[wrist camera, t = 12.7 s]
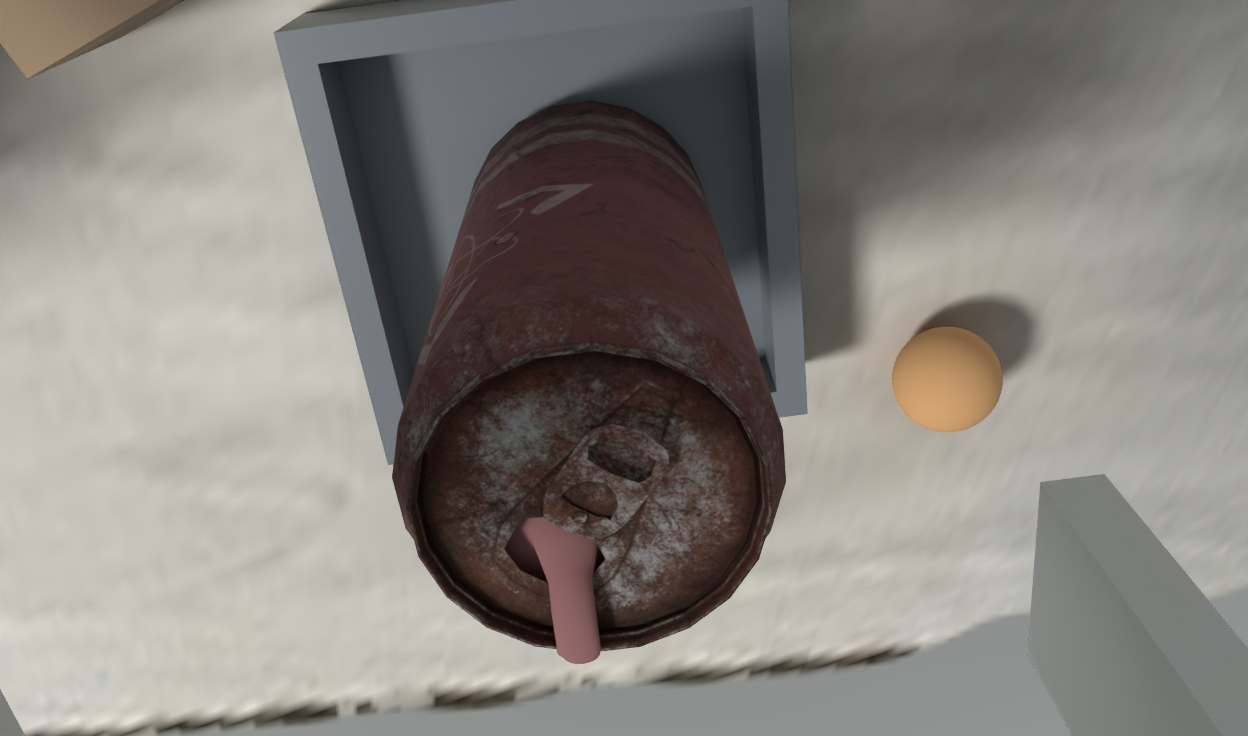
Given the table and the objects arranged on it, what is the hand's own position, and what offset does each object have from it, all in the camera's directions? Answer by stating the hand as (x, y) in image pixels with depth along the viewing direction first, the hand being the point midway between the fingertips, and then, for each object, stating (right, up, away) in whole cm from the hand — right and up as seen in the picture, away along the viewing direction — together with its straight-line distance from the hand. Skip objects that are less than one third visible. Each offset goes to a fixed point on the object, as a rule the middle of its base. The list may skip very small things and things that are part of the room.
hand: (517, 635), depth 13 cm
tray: (0, +8, +16) cm, 17 cm away
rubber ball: (+10, +3, +17) cm, 20 cm away
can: (0, +7, +15) cm, 17 cm away
